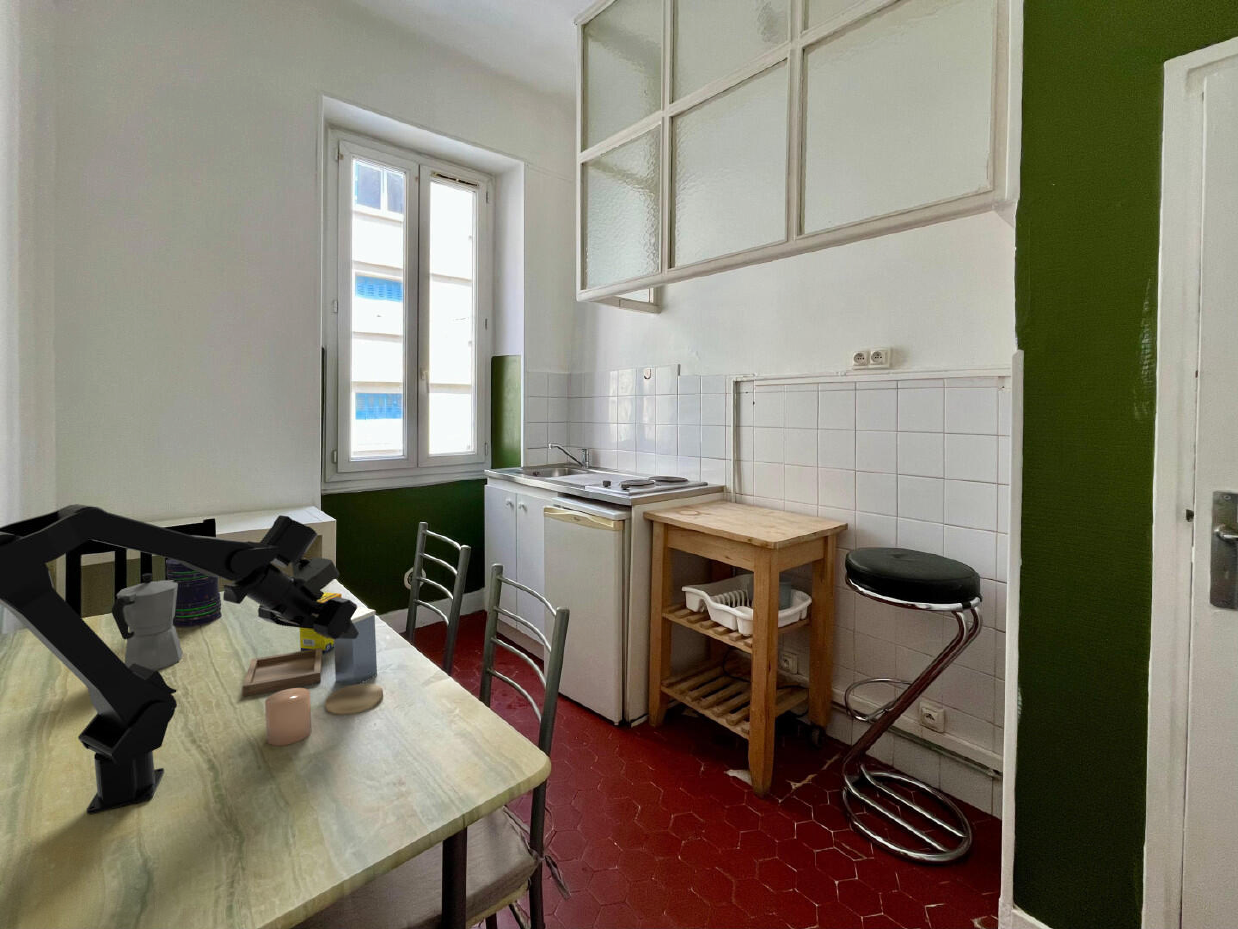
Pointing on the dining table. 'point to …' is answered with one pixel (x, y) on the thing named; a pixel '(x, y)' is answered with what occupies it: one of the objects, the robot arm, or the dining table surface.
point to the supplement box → (313, 639)
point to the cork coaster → (354, 699)
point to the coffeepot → (148, 623)
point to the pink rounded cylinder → (288, 716)
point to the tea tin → (357, 650)
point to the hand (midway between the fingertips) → (338, 631)
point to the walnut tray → (283, 671)
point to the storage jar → (194, 596)
